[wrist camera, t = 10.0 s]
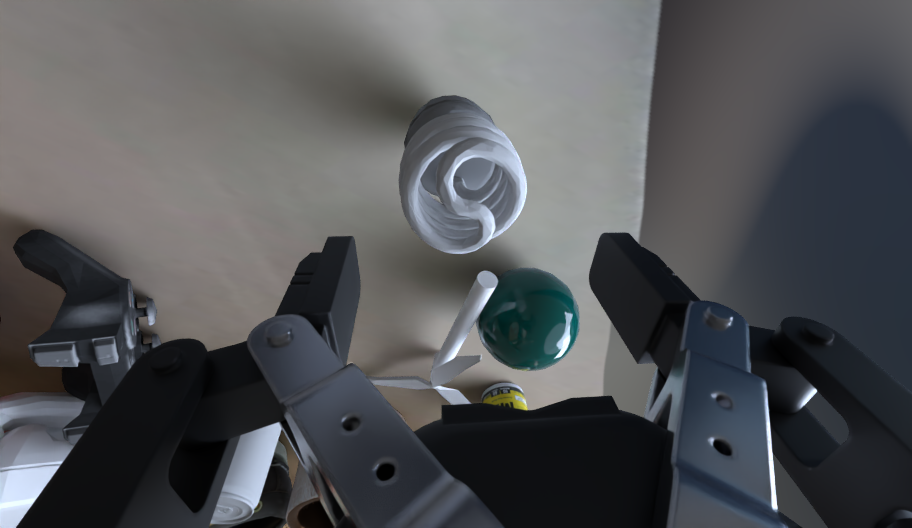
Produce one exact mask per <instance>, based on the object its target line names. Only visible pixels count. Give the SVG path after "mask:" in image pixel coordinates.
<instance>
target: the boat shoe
mask: <svg viewBox="0 0 912 528" xmlns="http://www.w3.org/2000/svg"><path fill="white" fill-rule="evenodd" d="M291 493H292V483H291V480H290V478H289V467H288V465H287V452H286V449H285V447H284V445H283V444H282V443H281V442H279V441H278V442H277V445H276V448H275V452H274V455H273V458H272V461H271V464H270V468H269V471H268V474H267V477H266V480H265V484H264V487H263V490H262V493H261V496H260V500H259V503H258V505H257V506H256V507H255V509H254V512H253V514H252V516H251V517H250V518H248V519H247V520H245V521H242V522H239V523H233V524H211V523H210V526H209V528H282V527H283V526H284V525H285V524H286V513H287V509H288V505H289V501H290V497H291Z"/></svg>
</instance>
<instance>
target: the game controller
mask: <svg viewBox="0 0 912 528" xmlns="http://www.w3.org/2000/svg"><path fill="white" fill-rule="evenodd" d="M13 249H14V251H15V254H16V255H17V257H18V258H19V260H20V261H21V263H22V265H23V266H24V267H25V268H27V269H29V270H30V271H32V272H34V273H36V274H38V275H40V276H42V277H44V278H46V279H47V280H49V281H51V282H53V283H55V284H57V285H59V286H60V287H61V288H62V289H63V290H64V291H65V292H66V296H65V298H64V300H63V303H62V305H61V307H60V310H59V312H58V314H57V316H56V318H55V320H54V322H53V324H52V326H51V328H50V330H48V331H47V332H45V333H44V334H42V335H41V336H40V337H38V338H37V339H35V340H34V341H32V342H31V343H29V344H28V349H29V354H30V358H31V359H32V360H33V361H34V362H35V363H37V364H38V365H39V366H60V367H63V369H62V382H63V385H64V388H65V390H66V391H67V392H68V393H69V394H71V395H72V396H74V397H76V398H78V399H80V400H83V401H85V404H84V406H83V408H82V410H81V413H80V415H78V416H77V417H76V418H75V419H73V420H72V421H71V422H70V423H69V424H67V425H66V426H65V427H64V428H63V429H62V431H63V436H64V439H65V440H66V441H69V444H70V445H75V444H76V443H77V442H78V440H79V439H80V437H81V436H82V435H83V433H84V432H85V430H86V429H87V428H88V426H89V425H90V423H91V422H92V421H93V419H94V418H95V417H96V415H97V414H98V412H99V411H100V410H101V408H102V407H103V405H104V404H105V403H106V401H107V400H108V398H109V397H110V396H111V394H112V393H113V391H114V390H115V389H116V387H117V386H118V384H119V383H120V382H121V380H122V379H123V378H124V376H125V375H126V373H127V372H128V371H129V369H130V368H131V366H132V365H133V364H134V363H135V361H136V360H137V359H139V358H140V357H141V356H142V355H143V354H144V352H148V351H149V350H151V349H153V348H154V347H156V346H158V345H161V342H160V340H159V337H158V335H157V334H153V333H152V343H147V344H143V336H142V331H139V319H138V317H145V316H148V323H149V326H150V325H152V324H154V323H155V320H156V313H157V309H156V307H155V304H154V301H153V299H151V298H148V297H147V298H146V302H147V307H145V308H137V300H136V296H135V294H133V290H132V285H131V281H130V279H126V278H121V277H120V276H118V275H117V274H115V273H114V272H112V271H111V270H109V269H107V268H106V267H104V266H103V265H101V264H100V263H98V262H97V261H95V260H94V259H92V258H91V257H89V256H87V255H86V254H84V253H83V252H81V251H80V250H78V249H77V248H75V247H74V246H72V245H71V244H69V243H68V242H66V241H65V240H63V239H61V238H60V237H58V236H56V235H53V234H51V233H49V232H46V231H44V230H31V231H29V232H27V233H26V234H24V235H22V236H21V237H19V238H18V240H17V241H16V243H15V245H14V247H13Z"/></svg>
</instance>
